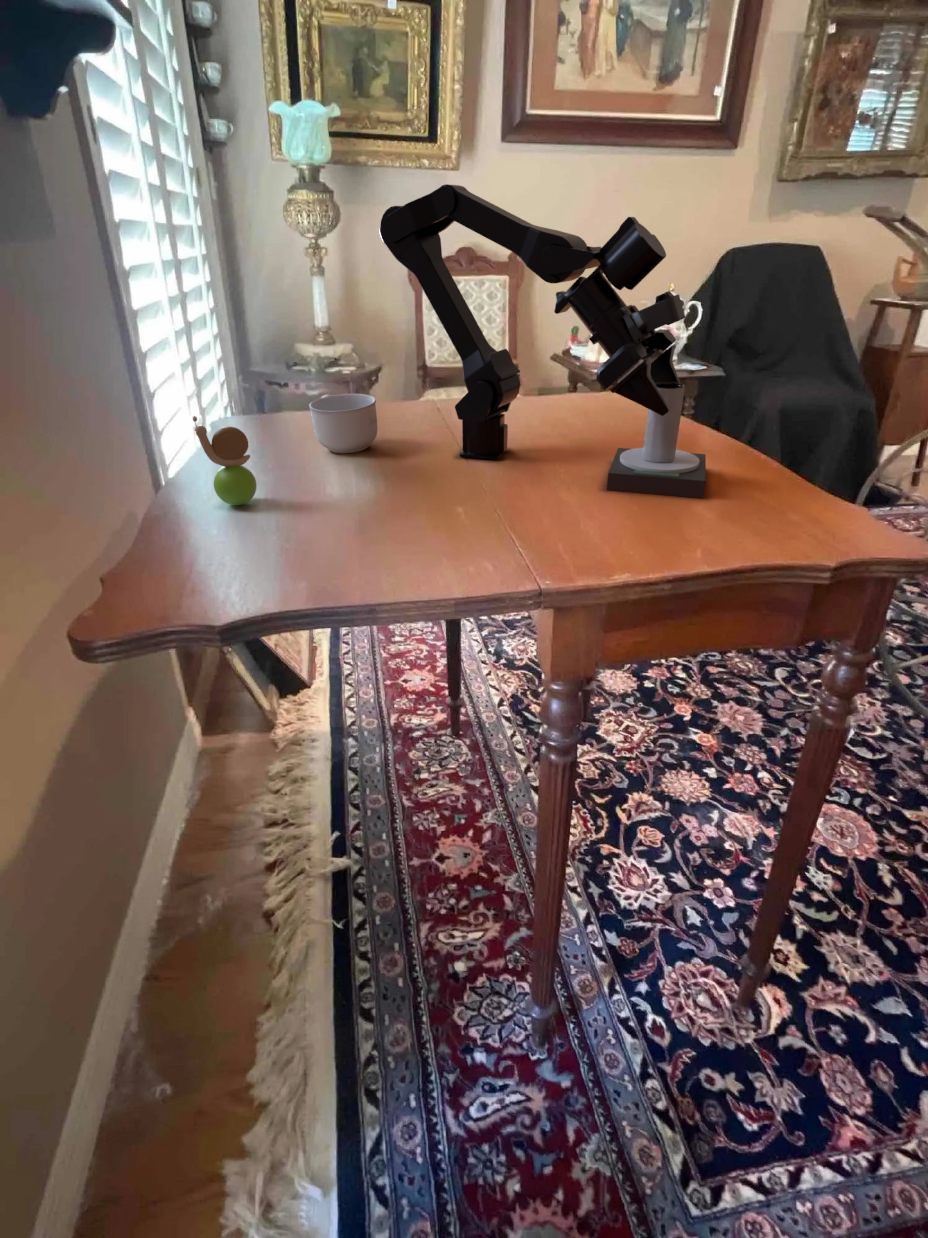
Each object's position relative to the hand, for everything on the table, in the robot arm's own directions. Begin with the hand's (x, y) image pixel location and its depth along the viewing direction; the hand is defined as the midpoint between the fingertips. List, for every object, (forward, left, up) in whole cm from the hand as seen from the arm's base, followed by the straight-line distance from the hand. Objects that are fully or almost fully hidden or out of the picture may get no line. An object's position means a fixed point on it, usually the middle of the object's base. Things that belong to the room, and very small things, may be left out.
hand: (674, 406), depth 95 cm
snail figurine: (-55, -26, -11) cm, 62 cm away
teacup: (-53, +4, -11) cm, 54 cm away
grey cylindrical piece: (-1, 0, -8) cm, 8 cm away
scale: (-1, 0, -11) cm, 11 cm away
